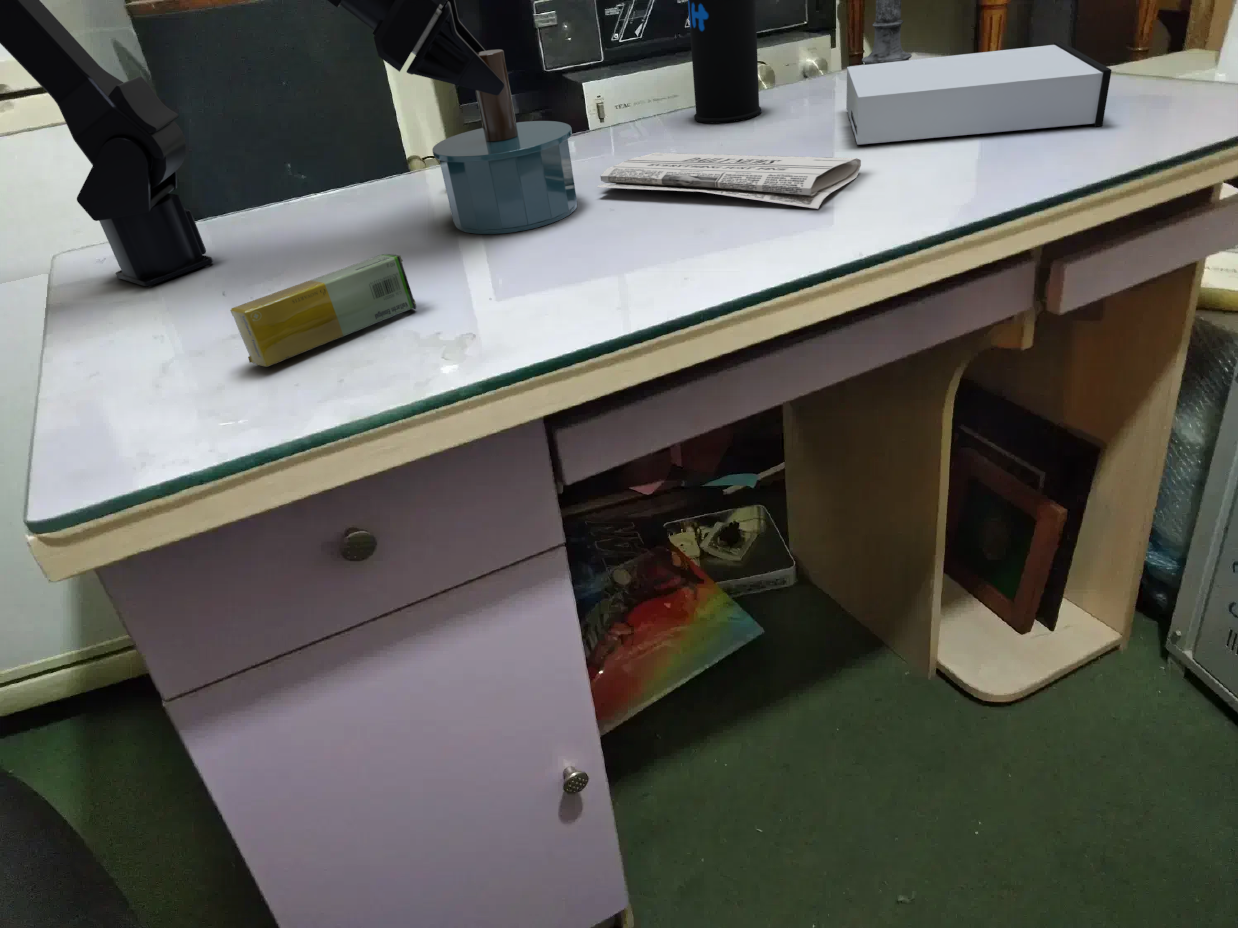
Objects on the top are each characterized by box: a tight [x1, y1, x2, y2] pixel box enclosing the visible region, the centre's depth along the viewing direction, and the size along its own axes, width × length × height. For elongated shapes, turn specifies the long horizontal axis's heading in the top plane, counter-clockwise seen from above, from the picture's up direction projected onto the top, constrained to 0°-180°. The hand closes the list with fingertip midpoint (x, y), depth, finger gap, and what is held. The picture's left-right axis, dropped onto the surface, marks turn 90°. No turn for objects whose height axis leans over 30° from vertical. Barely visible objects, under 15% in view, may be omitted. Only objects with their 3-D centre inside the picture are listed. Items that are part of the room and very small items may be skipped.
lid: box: [431, 49, 573, 162], centre depth 77 cm, size 13×13×8 cm
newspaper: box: [597, 152, 862, 210], centre depth 81 cm, size 23×12×2 cm, turn 54°
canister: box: [438, 139, 578, 235], centre depth 80 cm, size 12×12×6 cm
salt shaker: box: [861, 0, 913, 65], centre depth 106 cm, size 6×6×12 cm
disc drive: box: [845, 41, 1113, 146], centre depth 90 cm, size 18×22×5 cm
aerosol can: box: [687, 0, 762, 124], centre depth 102 cm, size 8×8×20 cm
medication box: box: [229, 253, 417, 368], centre depth 60 cm, size 12×3×4 cm, turn 135°
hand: (500, 82), depth 76 cm, fingers open, 9 cm apart
